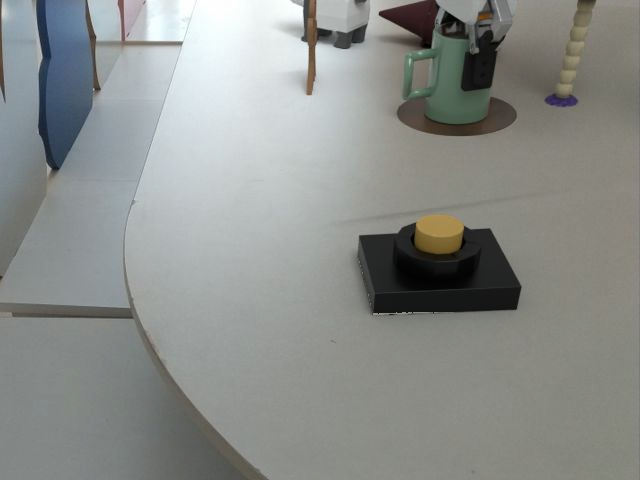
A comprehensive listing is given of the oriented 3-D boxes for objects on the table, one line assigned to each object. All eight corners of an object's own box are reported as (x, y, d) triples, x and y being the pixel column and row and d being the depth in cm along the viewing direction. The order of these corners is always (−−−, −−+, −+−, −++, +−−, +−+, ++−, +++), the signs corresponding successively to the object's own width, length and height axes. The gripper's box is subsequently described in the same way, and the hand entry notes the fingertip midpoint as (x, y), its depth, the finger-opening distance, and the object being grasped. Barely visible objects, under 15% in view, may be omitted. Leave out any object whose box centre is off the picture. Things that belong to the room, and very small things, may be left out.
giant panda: (373, 40, 114) (378, -31, 108) (350, 51, 112) (353, -21, 106) (295, 25, 123) (296, -41, 118) (272, 35, 121) (271, -32, 115)
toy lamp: (588, 107, 89) (627, -54, 79) (579, 123, 86) (619, -43, 76) (544, 102, 92) (576, -55, 81) (533, 117, 89) (565, -45, 78)
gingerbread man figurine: (299, 82, 104) (300, -15, 97) (329, 81, 103) (332, -17, 96) (292, 107, 97) (293, 5, 90) (324, 107, 96) (327, 4, 89)
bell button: (455, 231, 64) (458, 212, 63) (465, 254, 61) (469, 235, 60) (410, 234, 65) (412, 215, 64) (418, 257, 62) (421, 238, 61)
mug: (472, 97, 91) (484, 16, 86) (498, 119, 86) (513, 34, 81) (389, 109, 91) (395, 28, 86) (410, 131, 86) (419, 47, 80)
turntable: (497, 98, 94) (499, 88, 93) (531, 142, 84) (533, 132, 83) (386, 105, 95) (387, 96, 94) (406, 150, 85) (407, 140, 84)
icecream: (373, 3, 107) (487, 17, 102) (388, -25, 111) (499, -13, 106) (369, 49, 113) (477, 65, 107) (383, 21, 116) (488, 34, 111)
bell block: (486, 250, 68) (493, 209, 66) (516, 310, 61) (526, 266, 59) (357, 256, 69) (360, 216, 67) (372, 316, 62) (376, 273, 60)
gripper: (571, -99, 69) (532, 100, 79) (484, -125, 82) (460, 48, 93) (487, -89, 68) (459, 110, 79) (414, -116, 82) (399, 57, 93)
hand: (460, 75), depth 86 cm, fingers open, 7 cm apart
